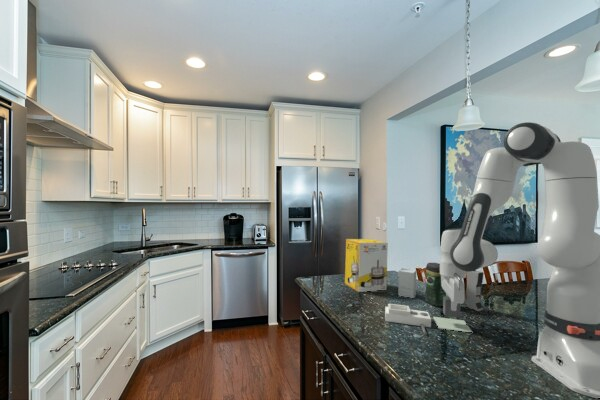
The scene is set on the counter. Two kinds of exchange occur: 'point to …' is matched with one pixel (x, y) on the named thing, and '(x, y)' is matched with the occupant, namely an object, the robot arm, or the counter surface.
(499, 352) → the counter surface
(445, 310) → the block
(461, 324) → the mat
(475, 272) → the vintage mobile phone
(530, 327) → the counter surface
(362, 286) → the packaging box
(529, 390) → the counter surface
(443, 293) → the coffee jar
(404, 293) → the supplement box
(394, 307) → the power strip
